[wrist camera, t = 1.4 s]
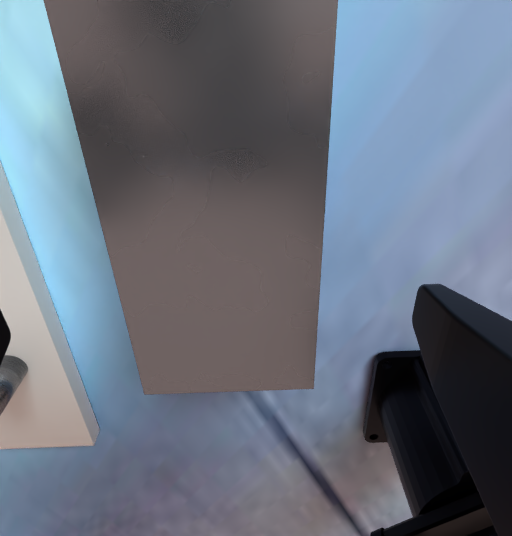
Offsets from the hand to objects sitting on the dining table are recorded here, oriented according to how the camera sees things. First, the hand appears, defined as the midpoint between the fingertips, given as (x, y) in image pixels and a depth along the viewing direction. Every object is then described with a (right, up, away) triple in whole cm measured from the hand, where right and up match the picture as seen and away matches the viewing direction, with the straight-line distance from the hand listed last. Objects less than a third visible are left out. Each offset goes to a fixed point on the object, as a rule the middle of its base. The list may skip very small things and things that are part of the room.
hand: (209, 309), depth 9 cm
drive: (0, +4, +7) cm, 8 cm away
